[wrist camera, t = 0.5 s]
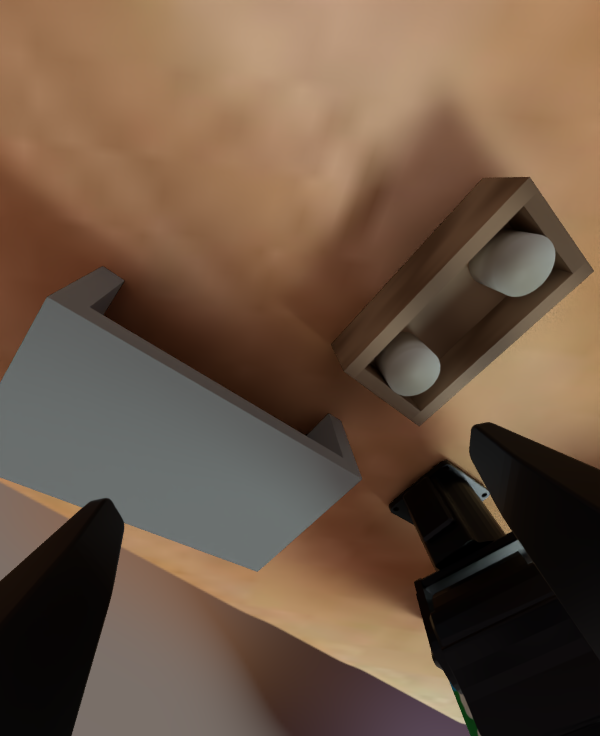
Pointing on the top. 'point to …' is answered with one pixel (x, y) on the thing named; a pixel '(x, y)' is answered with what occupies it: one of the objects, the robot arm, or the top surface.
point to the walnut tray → (462, 298)
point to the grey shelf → (159, 436)
